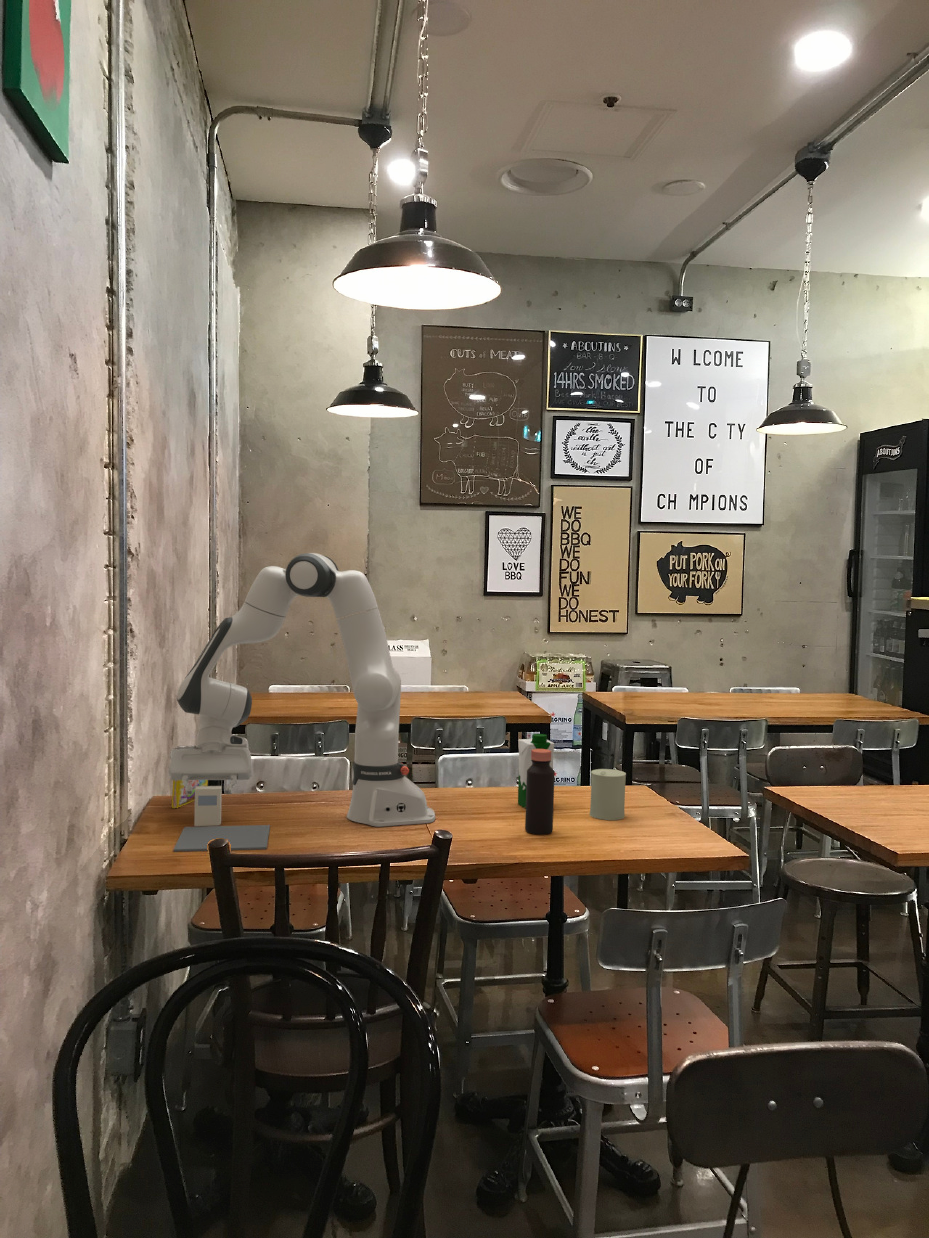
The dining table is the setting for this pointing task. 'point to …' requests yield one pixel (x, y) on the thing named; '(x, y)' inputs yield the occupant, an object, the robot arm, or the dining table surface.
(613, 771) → the can
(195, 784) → the candy box
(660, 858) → the dining table surface
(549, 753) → the bottle
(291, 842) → the dining table surface
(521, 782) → the milk carton
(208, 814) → the card deck
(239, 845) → the mat
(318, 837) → the dining table surface
